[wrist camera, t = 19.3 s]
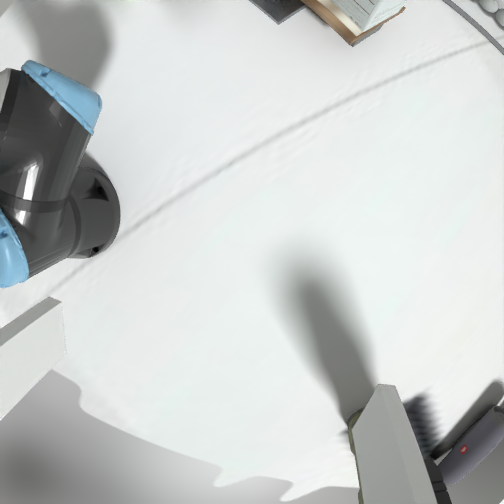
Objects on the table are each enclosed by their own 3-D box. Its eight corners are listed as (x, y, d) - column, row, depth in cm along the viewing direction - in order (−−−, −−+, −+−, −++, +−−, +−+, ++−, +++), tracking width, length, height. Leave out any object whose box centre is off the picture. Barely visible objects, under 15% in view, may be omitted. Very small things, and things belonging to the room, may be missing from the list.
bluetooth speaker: (484, 400, 50) (501, 427, 40) (503, 403, 50) (519, 427, 40) (428, 461, 56) (437, 489, 46) (450, 462, 56) (460, 487, 46)
